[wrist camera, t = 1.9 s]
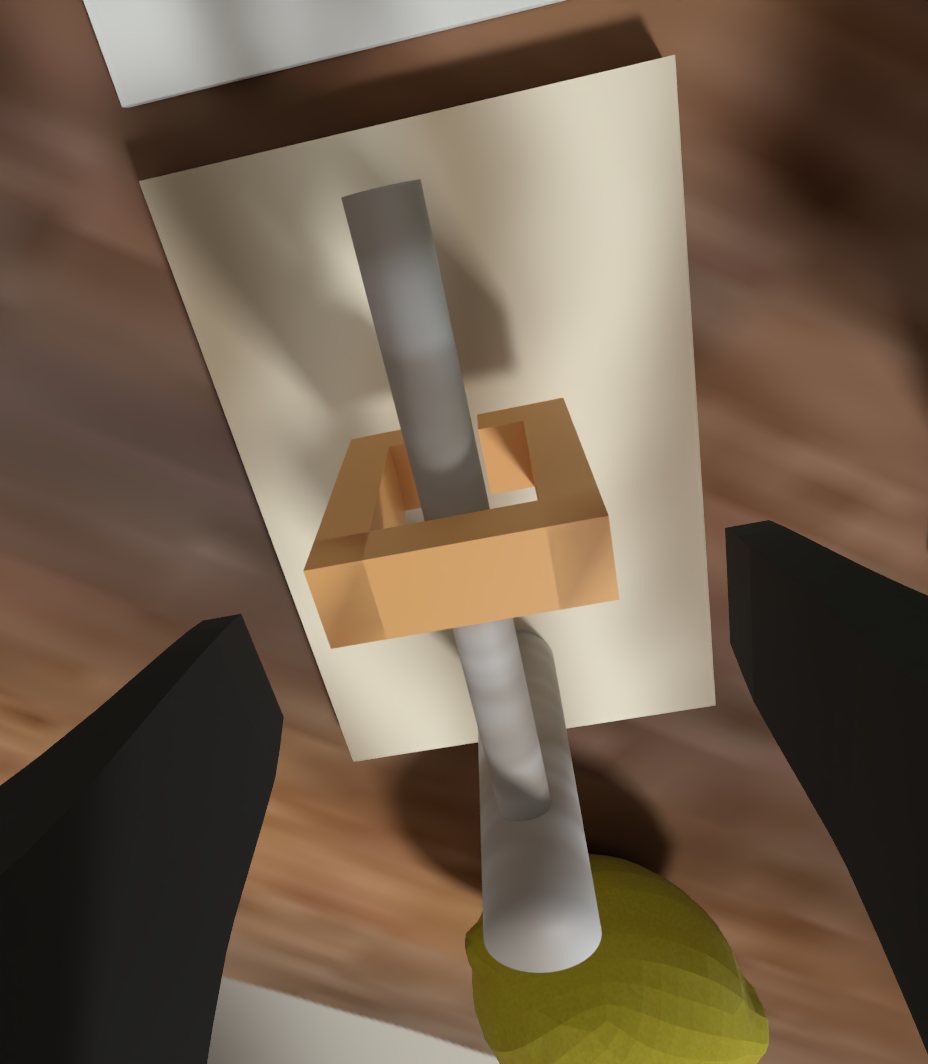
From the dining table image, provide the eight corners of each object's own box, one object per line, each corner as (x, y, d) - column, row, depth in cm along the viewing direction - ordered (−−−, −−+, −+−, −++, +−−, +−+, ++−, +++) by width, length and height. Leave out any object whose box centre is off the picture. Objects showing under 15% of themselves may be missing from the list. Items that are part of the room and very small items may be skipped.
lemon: (421, 890, 30) (408, 1126, 23) (528, 766, 27) (553, 993, 20) (640, 975, 32) (690, 1209, 25) (761, 870, 29) (857, 1104, 22)
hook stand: (663, 58, 17) (891, -28, 8) (706, 685, 25) (841, 987, 16) (154, 178, 18) (-150, 222, 9) (357, 740, 26) (303, 1051, 17)
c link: (563, 397, 17) (608, 515, 12) (572, 461, 18) (619, 599, 13) (351, 439, 18) (302, 571, 12) (369, 499, 18) (331, 648, 13)
